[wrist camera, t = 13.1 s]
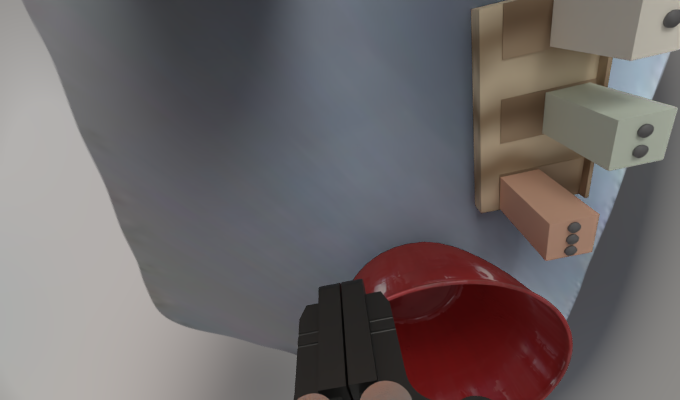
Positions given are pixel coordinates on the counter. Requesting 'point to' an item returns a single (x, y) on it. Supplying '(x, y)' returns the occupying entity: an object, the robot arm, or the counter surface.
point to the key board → (523, 97)
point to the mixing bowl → (469, 325)
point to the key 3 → (548, 215)
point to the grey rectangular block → (616, 27)
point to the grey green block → (608, 125)
